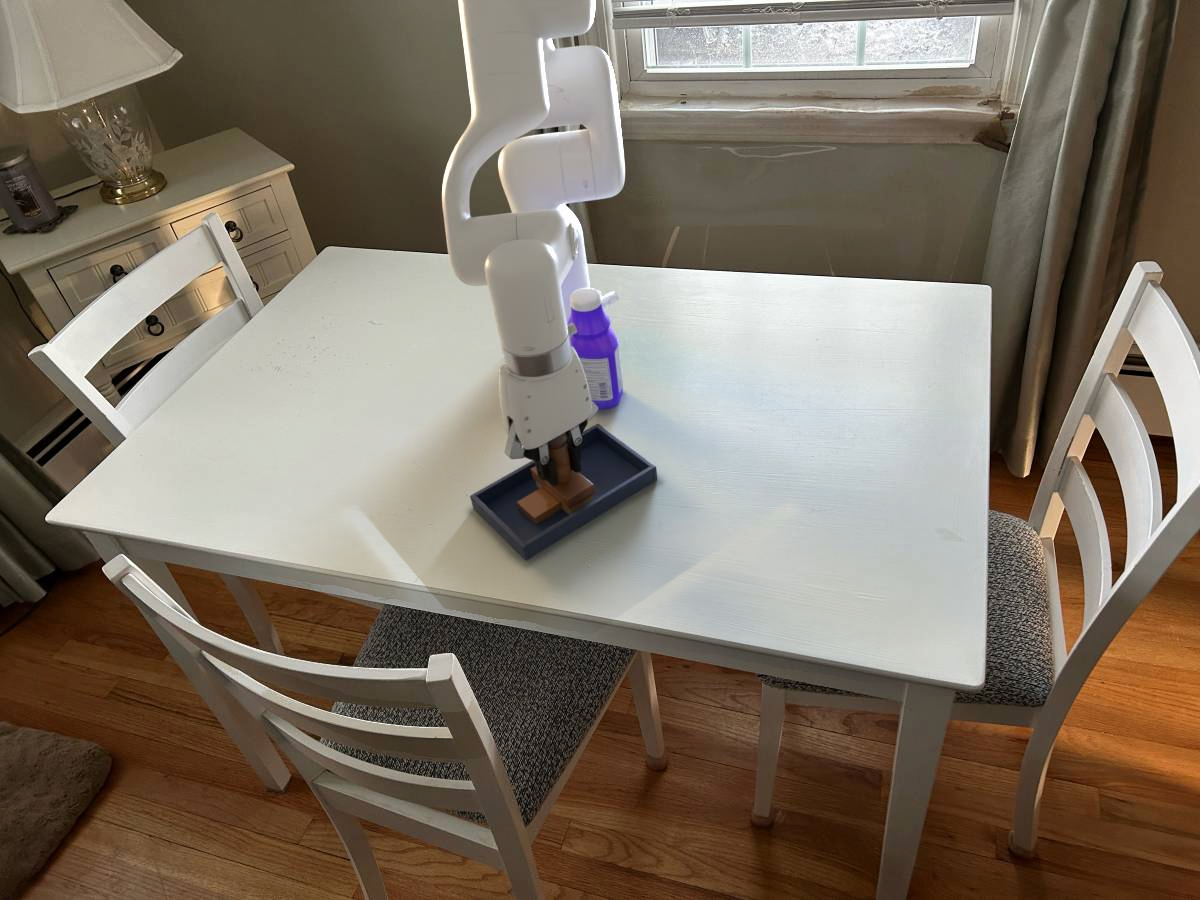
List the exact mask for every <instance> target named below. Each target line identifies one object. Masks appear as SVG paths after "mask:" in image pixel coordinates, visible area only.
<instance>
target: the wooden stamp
mask: <svg viewBox="0 0 1200 900" xmlns="http://www.w3.org/2000/svg"><path fill="white" fill-rule="evenodd" d="M548 451H549V457H550V458H551V459H552V460H553V461H554V463H555V468H556V473H557V478H558V485H556V486H554V487H553V486H552V485H551V484H550V483H548V482H547V481H546V480H545V481H543V480H542V479H541V478H540V477H539V476H538V474H537V470H536V466H535V467H533V468H531V473H532V477H533V479H534V480H536V485H537V487H538V488H539V489H540V488H541V487H544V488H545V489H546V490H547V491H548V492H549V493H551V494H552V495H553V496H554V497H555V498H556V499H558V500H559V501H560V502H561V506H562V509H563V510H564V511H566V512H567V513H568V514H569V515H571V514H573V513H574V512H576V511H577V510H579V509H581V508H582V507H584V506H586V505H587V504H589V503H591V502H592V501H594V498H593V495H594V494H595V490H594V484H593V483H591V482H590V481H589V480H588V479H586V478H585V477H584V476H583V475H581V474H580V473H579V472H578V473H577V472H574V471H573V470H572V468H571V463H570V457H569V452H568V446H567V433H566V432H565V433H563V434H561V435H559V436H557V437H556V438H554V439H552V440H550V441H548Z"/></svg>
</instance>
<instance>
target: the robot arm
mask: <svg viewBox="0 0 1200 900" xmlns="http://www.w3.org/2000/svg"><path fill="white" fill-rule="evenodd" d="M457 1H458V11H459V19H460V29H461V34H462V44H463V51H464V52H463V53H464V59H465V67H466V75H467V85H468V91H469V93H468V94H469V99H470V107H471V108H470V110H471V116H470V121H469V123H468V125H467V127H466V128H465V130H464V131H463V133H462V135H461V136H460V137H459V138H458V140H457V142H456V144H455V146H454V148H453V150H452V152H451V154H450V156H449V159H448V162H447V164H446V167H445V171H444V175H443V180H442V189H441V204H442V214H443V222H444V230H445V237H446V238H445V239H446V240H445V241H446V247H447V254H448V259H449V262H450V267H451V269H452V272H453V273H454V275H455V277H456V278H457V279H458V280H459V281H460V282H461V283H463V284H465V285H467V286H471V287H483V286H487V289H488V292H489V293H488V294H489V297H490V302H491V306H492V312H493V316H494V319H495V324H496V328H497V334H498V337H499V342H500V348H501V351H502V356H503V360H504V364H503V365H501V366H500V367H499V372H498V395H499V404H500V412H501V420H502V425H503V428H504V429H503V430H504V432H505V434H506V435H507V440H506V443H505V448H504V452H503V453H504V454H505V456H507V457H508V458H509V459H511V460H521V459H524V458H525V459H528V460H530V461H532V460H534V461H535V465H536V470H537V474H538V476H539V477H540V478H541V479H542V480H543V481H545V480H546V481H547V482H548V483H550V484H551V485H552V486H553V487H554V486H556V485H558V478H557V473H556V468H555V463H554V461H553V460H552V459H551V458H550V457H549V451H548V441H550V440H552V439H554V438H556V437H557V436H559V435H561V434H563V433H565V432H566V433H567V446H568V452H569V457H570V463H571V468H572V470H573V471H574V472H577V473H578V472H580V471H581V465H580V460H581V455H580V449H579V444H580V443H581V442H582V436H581V435H582V433H583V432H584V431H585V430H586V427H587V426H588V423H589V421H591V419H592V418H593V417H594V416H595V415H596V414H597V412H598V411H599V409H598V406H597V405H596V404H595V403H594V402H593V401H592V400H591V397H590V392H589V387H588V383H587V379H586V376H585V373H584V370H583V367H582V364H581V362H580V359H579V357H578V355H577V353H576V351H575V349H574V347H573V346H571V339H570V338H571V337H572V336H573V334H575V333H577V328H576V326H575V324H574V323H572V322H571V323H569V324H568V321H569V319H570V316H571V305H570V295H571V294H572V293H573V292H574V291H576V290H578V289H581V288H591V282H590V275H589V269H588V261H587V255H586V254H587V253H586V248H585V240H584V232H583V228H582V225H581V223H580V221H579V219H578V218H577V216H576V215H575V214H574V212H573V211H572V210H571V209H570V208H569V207H568V206H567V205H568V204H572V203H573V204H574V203H580V202H589V201H598V200H605V199H610V198H613V197H615V196H617V195H618V194H619V193H620V192H621V191H622V190H623V188H624V185H625V180H626V165H625V164H626V163H625V152H624V144H623V136H622V127H621V117H620V109H619V99H618V90H617V84H616V78H615V77H616V76H615V73H614V69H613V66H612V65H613V64H612V61H611V60H610V58H609V56H608V54H607V53H606V52H605V51H604V49H602V48H600V47H599V46H596V45H590V44H589V45H587V44H584V45H576V46H567V47H559V48H556V47H555V45H554V43H553V40H555V39H562V38H563V39H564V38H569V37H577V36H582V35H584V34H585V33H587V32H588V31H589V30H590V29H591V27H592V25H593V23H594V18H595V13H596V0H457ZM575 125H582V126H583V127H584V128H583V129H576V130H569V131H560V132H559V131H556V132H548V133H540V134H535V135H534V134H533V135H527V136H524V135H525V134H528V133H529V132H531V131H533V130H541V129H551V128H557V127H565V126H575ZM500 150H501V151H500ZM498 151H500V152H499V156H498V159H497V168H498V169H497V170H498V174H499V180H500V183H501V186H502V188H503V192H504V195H505V197H506V199H507V203H508V205H509V208H510V211H511V212H506V213H498V214H489V215H480V216H471V209H470V207H471V206H470V194H471V188H472V185H473V182H474V179H475V177H476V174H477V173H478V172H479V170H480V169H481V167H482V166H483V165H484V164H485V163H486V162H487V161H488V160H489V159H490V157H492V156H493V155H494V154H495V153H496V152H498ZM598 291H599V292H600V295H601V300H602V307H603V310H604V311H605V309H606V308H609V307H612V306H613V305H615V304H617V303H619V296H618V294H617V292H615V291H611V292H609V293H607V294H604V295H603V293H602V292H601V291H600V290H598Z"/></svg>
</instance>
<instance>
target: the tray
mask: <svg viewBox="0 0 1200 900" xmlns="http://www.w3.org/2000/svg"><path fill="white" fill-rule="evenodd" d="M581 436H582V442H581V443H580V444H579V449H580V455H581V460H580V465H581V471H580V472H579V473H580V474H581V475H583V476H584V477H585V478H586V479H588V480H589V481H590V482H591V483H593V484H594V490H595V494H594V495H593V498H594V501H592V502H591V503H589V504H587V505H586V506H584V507H582V508H581V509H579V510H577V511H576V512H574V513H573V514H571V515H569V514H568V513H567V512H566V511H564V510H563V509H561V510H559V511H558V512H556V513H555V514H553V515H551V516H550V517H548V518H546V519H545V520H543V521H541V522H540V523H538V524H535V523H534V522H532V521H531V520H530V519H529V518H528V517H527V516H526V515H525V514H524V513H523V512H522V511H520V510H519V509H518V505H517V502H518V501H519V500H521V499H523V498H524V497H526V496H528V495H529V494H531V493H533V492H534V491H536V490H538V489H539V488H538V487H537V485H536V480H534V479H533V477H532V473H531V468H533V467H535V466H536V465H535V461H534V460H530V461H529V462H527V463H526V464H523V465H522V466H520V467H518V468H516V469H514V470H513V471H511V472H509V473H508V474H506V475H504V476H502V477H501V478H498V479H497V480H495V481H494V482H491V483H490V484H488V485H486V486H484V487H483V488H481V489H479V490H478V491H476V492H474V493H473V494H470V495H469V499H470V502H471V506H472V508H473V510H474V511H475V512H476V513H477V514H478V515H479V516H480V518H482V519H483V520H484V521H485V522H486V523H487V524H488V525H489V526H490V527H491V528H492V529H493V530H494V531H495V532H496V533H497V534H498V535H499V536H500V537H501V538H502V539H503V540H504V541H505V542H506V543H507V544H508V545H509V546H510V547H512V549H513V550H514V551H515V552H516V553H517V554H518V555H520V557H521V558H522V559H523V560H524V561H526V562H527V561H529V560H530V559H532V558H533V557H535V556H536V555H538V554H540V553H541V552H543V551H544V550H547V549H548V548H550V547H552V546H553V545H554V544H556V543H558V542H559V541H561V540H562V539H564V538H566V537H567V536H569V535H570V534H572V533H574V532H575V531H577V530H579V529H580V528H582V527H584V526H585V525H587V524H589V523H590V522H592V521H593V520H595V519H597V518H598V517H600V516H601V515H603V514H605V513H607V512H608V511H609V510H611V509H612V508H614V507H616V506H618V505H619V504H621V503H622V502H624V501H626V500H627V499H629V498H631V497H632V496H634V495H635V494H637V493H638V492H640V491H642V490H644V489H645V488H648V486H650V485H652V484H653V483H655V482H656V481H658V471H657V470H658V469H657V466H656V465H655V464H653V463H652V462H651V461H649V460H648V459H647V458H646V457H644V456H643V455H641V454H640V453H639V452H637V451H636V450H635V449H633V448H632V447H630V445H628V444H626V443H625V442H624V441H623V440H621V439H620V438H618V437H617V436H616V435H614V434H613V433H612V432H610V431H609V430H608V429H606V427H604V426H602V425H601V424H600V423H596V424H595V425H593V426H591V427H589V428H587V429H585V430H584V431H583V433H582V435H581Z"/></svg>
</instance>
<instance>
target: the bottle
mask: <svg viewBox="0 0 1200 900" xmlns="http://www.w3.org/2000/svg"><path fill="white" fill-rule="evenodd" d="M599 291H600V290H598V289H596V288H593V287H590V288H581V289H578V290H576V291H574V292H573V293H572V294H571V295H570V305H571V316H570V319H569V321H568V324H569V323H571V322H572V323H574V324H575V326H576V328H577V333H575V334H573V336H572V337H571V338H570V339H571V346H573V347H574V349H575V351H576V353H577V355H578V357H579V359H580V362H581V364H582V367H583V370H584V373H585V376H586V379H587V383H588V387H589V392H590V397H591V400H592V401H593V402H594V403H595V404H596V405H597V406H598V410H609V409H613V408H615V407H616V406H617V405H618V404H619V402H620V400H621V398H622V396H623V393H624V381H623V380H624V379H623V372H622V361H621V354H620V353H621V352H620V344H619V340H618V337H617V335H616V333H615V331H614V330H613V329H612V328H611V327H610V326H611V319H610V317H609V316H608V315H607V313H606V312H605V309H604V310H603V307H602V300H601V295H600V292H601V291H600V292H599Z"/></svg>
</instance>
